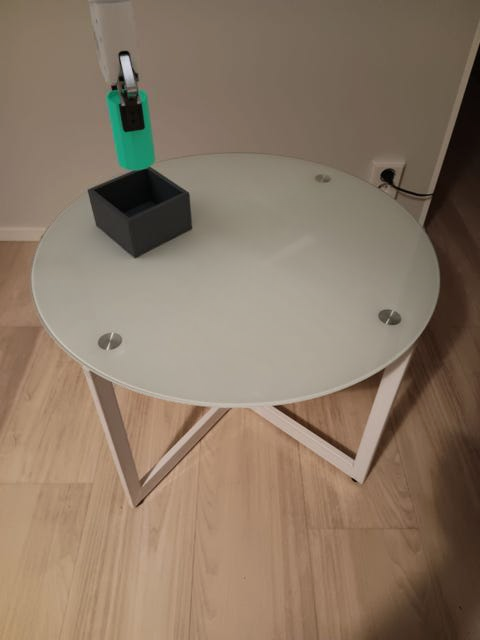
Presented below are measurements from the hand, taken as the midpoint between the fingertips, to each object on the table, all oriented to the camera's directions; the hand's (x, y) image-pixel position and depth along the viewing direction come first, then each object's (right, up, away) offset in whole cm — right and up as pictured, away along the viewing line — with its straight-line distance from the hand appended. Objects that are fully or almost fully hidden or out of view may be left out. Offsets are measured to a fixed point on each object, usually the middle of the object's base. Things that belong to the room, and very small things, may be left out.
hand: (129, 119), depth 77 cm
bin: (-1, -14, +16) cm, 21 cm away
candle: (0, -5, +5) cm, 7 cm away
